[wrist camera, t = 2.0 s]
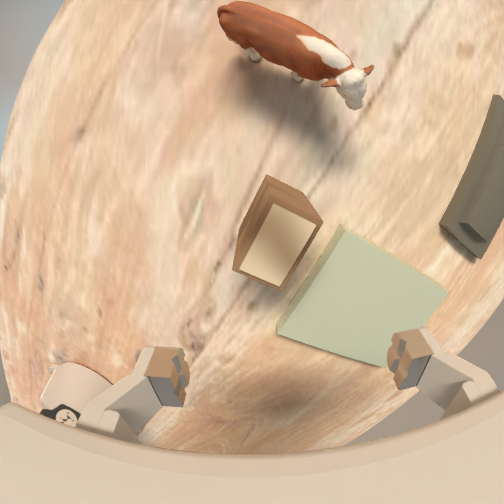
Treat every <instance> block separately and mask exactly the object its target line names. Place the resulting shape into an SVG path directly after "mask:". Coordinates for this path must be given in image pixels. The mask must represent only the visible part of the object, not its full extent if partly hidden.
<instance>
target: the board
mask: <svg viewBox="0 0 504 504" xmlns="http://www.w3.org/2000/svg"><path fill="white" fill-rule="evenodd" d="M448 293H449V292H448V291H447V290H446V289H445V288H444V287H443V286H442V285H441V284H440V283H438V282H437V281H435V280H434V279H432V278H431V277H429V276H427V275H426V274H424V273H423V272H421V271H420V270H418V269H416V268H415V267H413V266H412V265H410V264H408V263H407V262H405V261H404V260H402V259H400V258H399V257H397V256H395V255H394V254H392V253H390V252H389V251H387V250H385V249H384V248H382V247H380V246H379V245H377V244H375V243H373V242H372V241H370V240H368V239H366V238H365V237H363V236H361V235H359V234H358V233H356V232H354V231H352V230H351V229H349V228H347V227H345V226H343V225H341V224H340V225H339V227H338V229H337V230H336V232H335V234H334V235H333V237H332V238H331V240H330V242H329V243H328V245H327V247H326V248H325V250H324V251H323V253H322V255H321V256H320V258H319V259H318V261H317V263H316V264H315V266H314V267H313V269H312V271H311V272H310V274H309V275H308V277H307V278H306V280H305V281H304V283H303V285H302V286H301V288H300V289H299V291H298V292H297V294H296V295H295V297H294V298H293V300H292V301H291V303H290V304H289V306H288V307H287V309H286V310H285V312H284V313H283V315H282V316H281V317H280V319H279V320H278V322H277V333H278V334H280V335H282V336H285V337H288V338H291V339H294V340H297V341H300V342H302V343H305V344H308V345H311V346H314V347H317V348H320V349H324V350H327V351H330V352H333V353H336V354H339V355H342V356H346V357H349V358H352V359H356V360H359V361H362V362H366V363H369V364H373V365H376V366H380V367H384V368H386V367H387V366H388V364H387V352H388V349H389V348H390V346H391V345H392V344H393V343H392V341H391V339H392V336H393V334H394V333H396V332H401V331H406V330H411V329H416V328H420V327H423V326H424V325H425V323H426V322H427V321H428V320H429V318H430V317H431V316H432V315H433V313H434V312H435V311H436V309H437V308H438V307H439V305H440V304H441V303H442V301H443V300H444V299H445V297H446V296H447V295H448Z"/></svg>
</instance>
